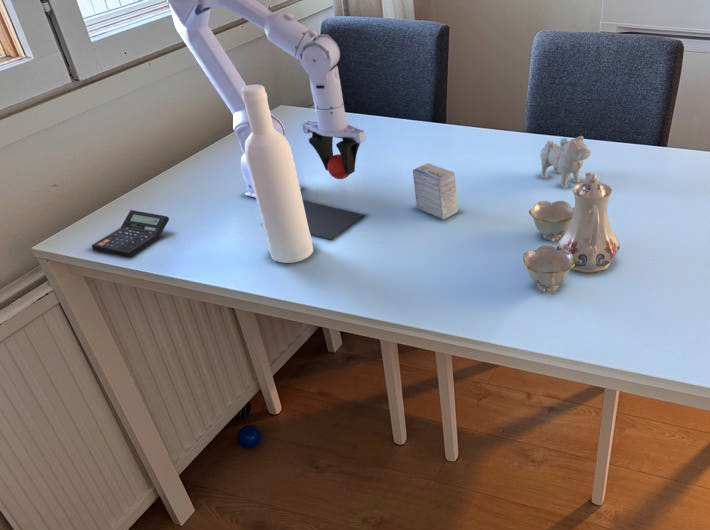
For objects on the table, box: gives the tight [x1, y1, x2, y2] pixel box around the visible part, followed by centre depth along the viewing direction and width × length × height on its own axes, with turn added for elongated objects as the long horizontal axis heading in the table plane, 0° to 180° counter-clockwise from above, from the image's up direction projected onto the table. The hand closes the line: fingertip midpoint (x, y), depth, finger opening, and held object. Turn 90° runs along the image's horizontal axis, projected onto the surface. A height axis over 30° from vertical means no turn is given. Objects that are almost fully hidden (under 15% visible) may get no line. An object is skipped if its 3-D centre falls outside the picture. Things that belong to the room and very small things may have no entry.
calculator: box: [91, 209, 170, 258], centre depth 131 cm, size 9×12×3 cm
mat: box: [302, 199, 365, 241], centre depth 135 cm, size 16×11×1 cm
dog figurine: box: [539, 135, 592, 189], centre depth 142 cm, size 5×13×11 cm, turn 38°
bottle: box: [242, 84, 314, 264], centre depth 115 cm, size 8×8×30 cm
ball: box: [327, 153, 350, 180], centre depth 139 cm, size 5×5×5 cm
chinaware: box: [523, 172, 621, 296], centre depth 114 cm, size 28×17×17 cm, turn 178°
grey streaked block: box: [412, 162, 459, 220], centre depth 133 cm, size 8×4×9 cm, turn 47°
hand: (340, 170), depth 140 cm, fingers closed on ball, 5 cm apart
